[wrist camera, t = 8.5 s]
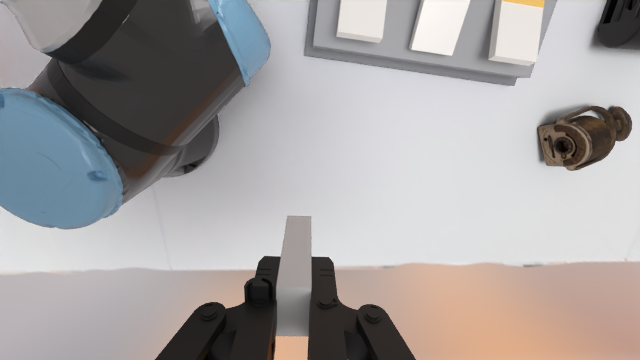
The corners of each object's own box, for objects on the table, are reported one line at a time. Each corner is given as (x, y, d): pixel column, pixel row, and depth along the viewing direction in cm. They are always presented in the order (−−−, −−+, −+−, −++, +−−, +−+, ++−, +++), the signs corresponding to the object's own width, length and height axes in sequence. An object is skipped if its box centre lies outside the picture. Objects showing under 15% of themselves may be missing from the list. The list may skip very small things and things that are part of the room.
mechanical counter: (575, 93, 38) (560, 170, 40) (678, 102, 38) (660, 179, 39) (537, 101, 45) (526, 166, 47) (623, 109, 45) (610, 174, 46)
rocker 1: (336, 36, 33) (337, 30, 32) (344, -35, 33) (346, -44, 32) (379, 43, 34) (382, 37, 32) (388, -27, 33) (391, -36, 32)
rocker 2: (488, 59, 34) (495, 55, 33) (496, -9, 34) (504, -16, 33) (528, 66, 35) (537, 61, 33) (536, -2, 35) (546, -9, 33)
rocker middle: (408, 48, 36) (411, 49, 34) (429, -32, 32) (433, -34, 31) (448, 54, 36) (452, 56, 35) (473, -24, 32) (479, -26, 31)
